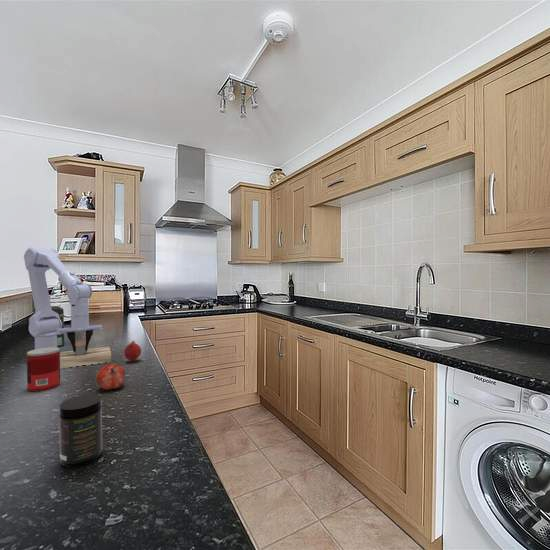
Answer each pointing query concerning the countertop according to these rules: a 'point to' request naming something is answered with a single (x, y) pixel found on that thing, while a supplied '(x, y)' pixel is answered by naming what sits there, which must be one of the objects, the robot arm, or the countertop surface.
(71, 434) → the supplement container
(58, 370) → the canned food
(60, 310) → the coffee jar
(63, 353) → the beige wooden board
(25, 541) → the countertop surface
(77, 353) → the orange brown rectangular block
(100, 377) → the pomegranate
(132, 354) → the onion
